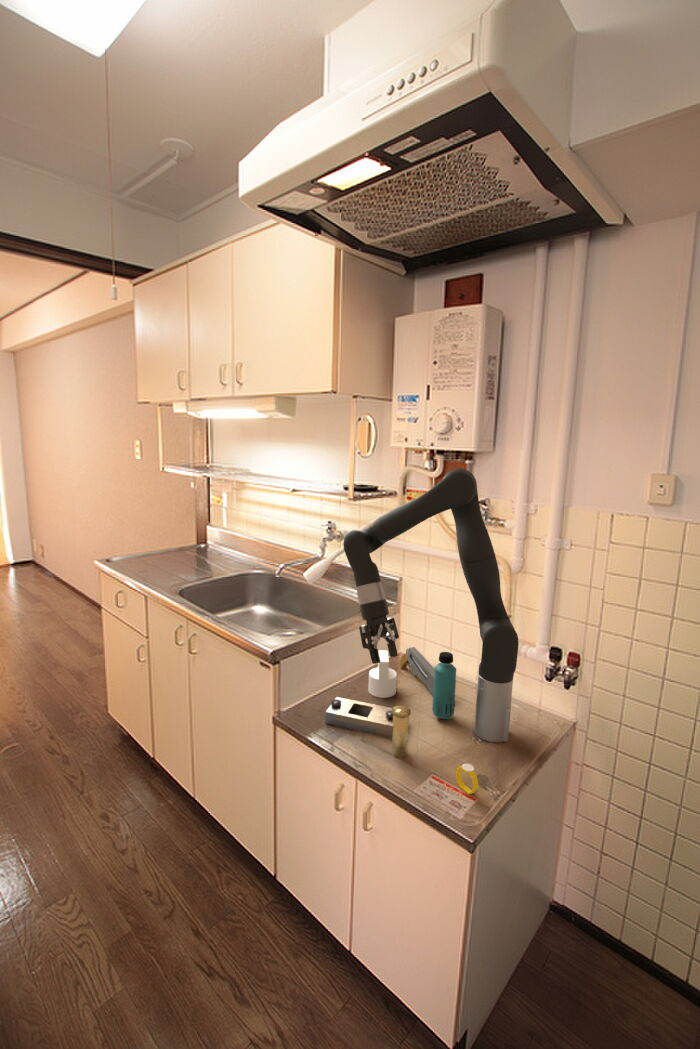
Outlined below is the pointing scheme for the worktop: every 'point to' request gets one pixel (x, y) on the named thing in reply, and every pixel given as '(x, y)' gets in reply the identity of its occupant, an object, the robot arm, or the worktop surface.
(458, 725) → the worktop surface
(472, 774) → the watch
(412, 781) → the worktop surface
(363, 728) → the metal socket block
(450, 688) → the beverage bottle
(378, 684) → the cylinder with rectangular tab
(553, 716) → the worktop surface
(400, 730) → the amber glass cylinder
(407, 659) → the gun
